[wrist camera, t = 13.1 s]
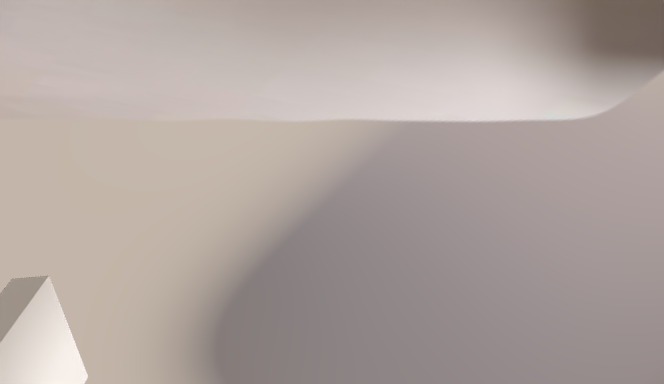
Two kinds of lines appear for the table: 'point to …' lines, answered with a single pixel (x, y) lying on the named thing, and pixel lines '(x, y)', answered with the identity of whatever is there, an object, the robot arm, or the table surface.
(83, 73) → the table surface
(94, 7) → the table surface
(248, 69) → the table surface
